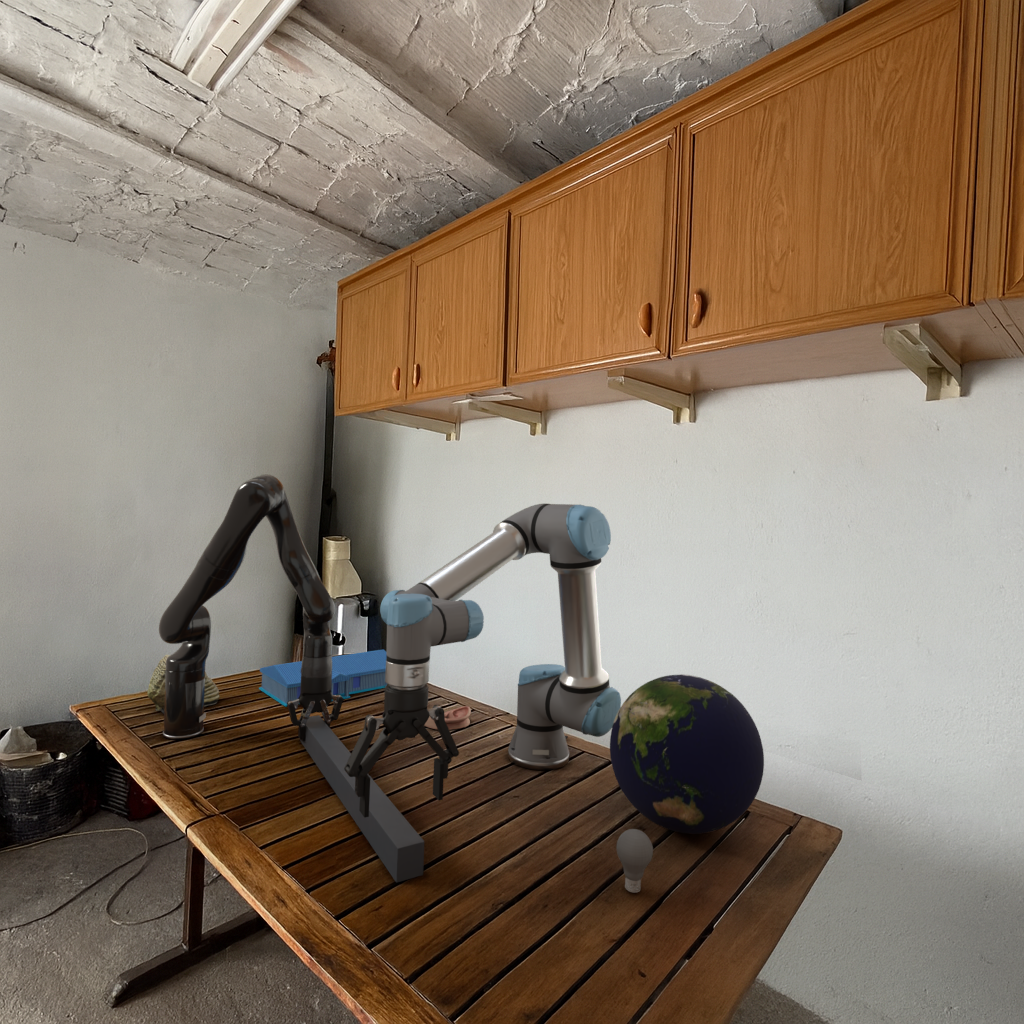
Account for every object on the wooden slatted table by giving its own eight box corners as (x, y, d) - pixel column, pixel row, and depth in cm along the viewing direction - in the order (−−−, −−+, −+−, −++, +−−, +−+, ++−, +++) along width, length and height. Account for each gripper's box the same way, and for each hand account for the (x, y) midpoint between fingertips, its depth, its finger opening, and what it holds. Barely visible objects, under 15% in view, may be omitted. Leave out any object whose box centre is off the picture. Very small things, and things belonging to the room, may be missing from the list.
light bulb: (610, 879, 108) (613, 822, 108) (644, 879, 109) (647, 822, 109) (619, 902, 102) (622, 840, 102) (655, 901, 103) (658, 840, 103)
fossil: (144, 707, 182) (145, 655, 182) (212, 696, 194) (213, 647, 194) (151, 716, 175) (153, 662, 175) (221, 703, 188) (223, 653, 188)
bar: (299, 739, 164) (300, 717, 164) (318, 737, 166) (319, 715, 166) (396, 882, 105) (397, 848, 105) (423, 875, 108) (424, 841, 108)
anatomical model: (417, 713, 176) (431, 700, 187) (417, 727, 176) (430, 714, 187) (463, 718, 173) (474, 705, 184) (463, 733, 173) (473, 719, 184)
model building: (289, 709, 186) (291, 675, 185) (258, 688, 204) (259, 657, 204) (403, 687, 212) (405, 657, 212) (366, 670, 230) (368, 643, 230)
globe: (589, 842, 120) (597, 685, 120) (623, 780, 148) (629, 652, 147) (758, 884, 109) (767, 711, 108) (760, 808, 137) (767, 670, 136)
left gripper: (290, 679, 154) (288, 748, 154) (349, 673, 161) (346, 739, 161) (284, 671, 160) (281, 738, 160) (340, 665, 168) (337, 729, 168)
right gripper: (342, 699, 100) (336, 831, 101) (480, 681, 113) (475, 799, 114) (329, 686, 107) (324, 811, 107) (461, 671, 120) (456, 782, 120)
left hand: (314, 738), depth 161 cm, fingers closed on bar, 5 cm apart
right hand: (402, 805), depth 110 cm, fingers open, 13 cm apart
